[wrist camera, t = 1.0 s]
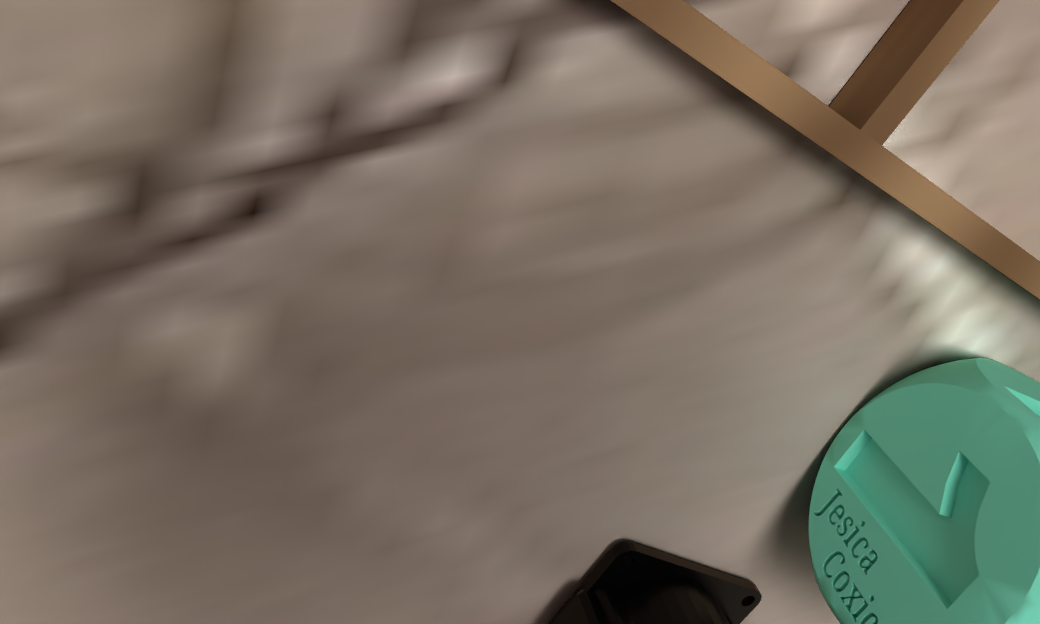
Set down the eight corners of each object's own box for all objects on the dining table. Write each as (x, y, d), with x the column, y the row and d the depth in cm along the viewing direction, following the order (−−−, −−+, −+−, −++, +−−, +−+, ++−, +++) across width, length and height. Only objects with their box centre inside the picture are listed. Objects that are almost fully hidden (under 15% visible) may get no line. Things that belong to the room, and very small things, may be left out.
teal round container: (919, 324, 27) (1131, 510, 20) (1074, 394, 31) (1298, 573, 24) (765, 516, 30) (907, 734, 23) (922, 561, 33) (1086, 761, 27)
